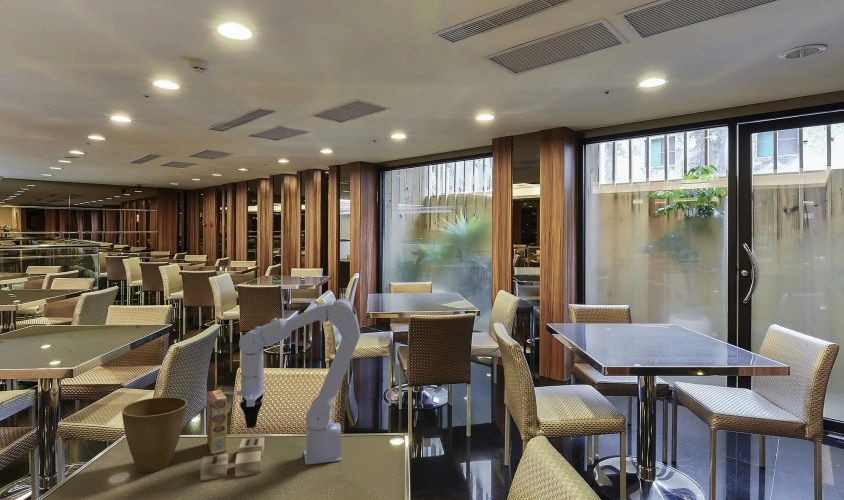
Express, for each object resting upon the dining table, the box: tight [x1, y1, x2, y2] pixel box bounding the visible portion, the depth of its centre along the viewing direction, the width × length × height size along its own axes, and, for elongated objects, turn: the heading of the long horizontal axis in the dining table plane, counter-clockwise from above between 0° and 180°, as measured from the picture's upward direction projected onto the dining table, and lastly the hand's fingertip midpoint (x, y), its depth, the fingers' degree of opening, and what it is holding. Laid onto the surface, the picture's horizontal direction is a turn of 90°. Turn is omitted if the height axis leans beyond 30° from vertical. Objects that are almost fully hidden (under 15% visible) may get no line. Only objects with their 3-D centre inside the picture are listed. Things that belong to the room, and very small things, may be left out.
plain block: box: [234, 451, 262, 478], centre depth 122 cm, size 6×6×4 cm
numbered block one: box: [199, 453, 229, 481], centre depth 120 cm, size 6×6×4 cm
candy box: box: [206, 389, 228, 455], centre depth 135 cm, size 9×4×15 cm, turn 33°
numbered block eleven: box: [238, 436, 265, 459], centre depth 131 cm, size 6×6×4 cm
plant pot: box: [121, 396, 188, 473], centre depth 123 cm, size 15×15×16 cm
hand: (251, 424), depth 128 cm, fingers open, 4 cm apart
